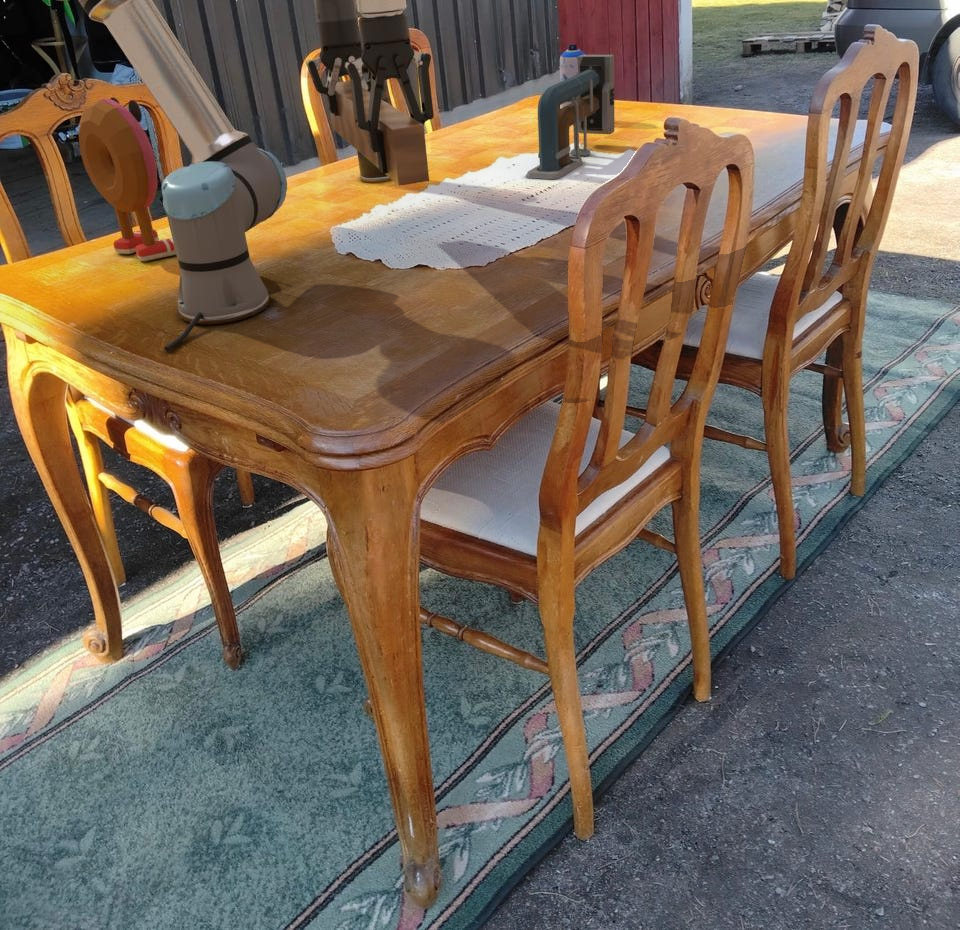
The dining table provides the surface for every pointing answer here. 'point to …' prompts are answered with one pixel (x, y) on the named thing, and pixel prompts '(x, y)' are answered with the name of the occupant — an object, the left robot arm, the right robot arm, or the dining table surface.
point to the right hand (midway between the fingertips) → (350, 112)
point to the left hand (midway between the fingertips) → (400, 168)
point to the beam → (398, 133)
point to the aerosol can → (569, 65)
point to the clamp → (574, 115)
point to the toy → (123, 172)
